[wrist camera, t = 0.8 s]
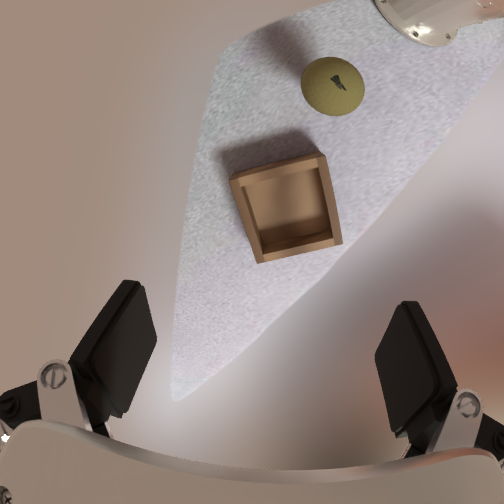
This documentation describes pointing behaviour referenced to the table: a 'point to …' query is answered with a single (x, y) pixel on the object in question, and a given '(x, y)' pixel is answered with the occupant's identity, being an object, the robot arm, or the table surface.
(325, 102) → the light bulb
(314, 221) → the open wooden box
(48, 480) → the robot arm
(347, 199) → the table surface
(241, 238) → the table surface
